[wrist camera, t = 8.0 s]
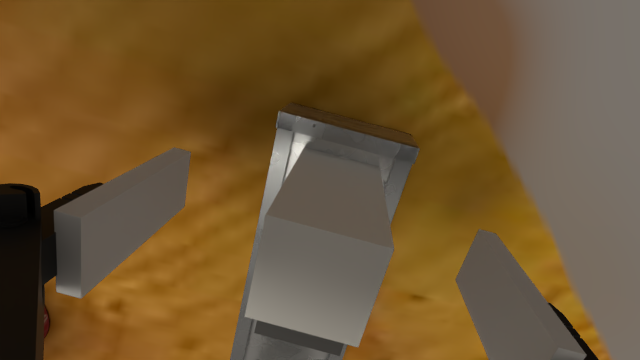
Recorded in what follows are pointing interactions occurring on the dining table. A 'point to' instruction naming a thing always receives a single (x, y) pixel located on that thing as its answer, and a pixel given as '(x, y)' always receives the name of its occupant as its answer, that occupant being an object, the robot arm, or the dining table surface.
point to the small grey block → (321, 254)
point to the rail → (291, 137)
